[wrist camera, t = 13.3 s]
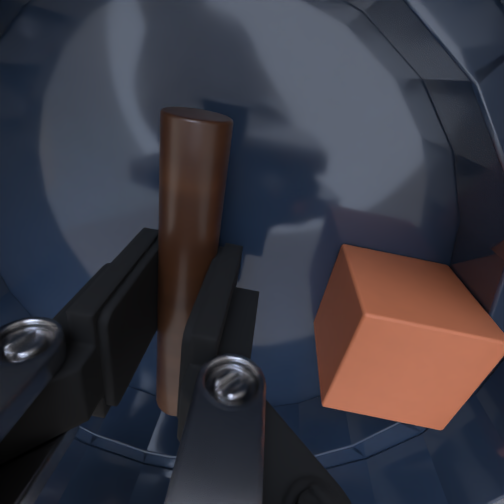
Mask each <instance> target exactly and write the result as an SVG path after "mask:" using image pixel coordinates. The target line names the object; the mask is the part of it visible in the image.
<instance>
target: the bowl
mask: <svg viewBox="0 0 504 504" xmlns="http://www.w3.org/2000/svg"><path fill="white" fill-rule="evenodd" d="M166 107H187V108H195V109H202V110H207V111H212V112H216V113H220V114H223V115H226V116H228V117H230V118H231V119H232V120H233V131H232V139H231V147H230V155H229V163H228V171H227V180H226V188H225V196H224V204H223V212H222V220H221V228H220V236H219V245H218V246H221V247H224V245H225V243H230V244H235V245H240V246H243V250H242V256H241V262H240V268H239V274H238V279H237V285H236V287H239V288H244V289H249V290H254V291H259V299H258V306H257V314H256V322H255V329H254V337H253V344H252V352H251V359H250V360H252V361H254V362H255V363H256V364H257V365H258V366H259V367H260V368H261V370H262V372H263V374H264V376H265V381H266V400H267V401H268V402H269V403H270V404H271V406H272V407H273V408H274V409H275V410H276V412H277V413H278V414H279V415H280V416H281V417H282V419H283V420H284V421H285V422H286V423H287V424H288V426H289V427H290V428H291V429H292V430H293V431H294V433H295V434H296V435H297V436H298V437H299V438H300V440H301V441H302V442H303V443H304V444H305V446H306V447H307V448H308V449H309V450H310V451H311V453H312V454H313V455H314V456H315V457H316V458H317V460H318V461H319V462H320V463H321V464H322V465H323V467H324V468H325V469H326V470H327V471H328V472H329V474H330V475H331V476H332V477H333V478H334V480H335V481H336V482H337V483H338V484H339V485H340V487H341V488H342V489H343V491H344V492H345V494H346V495H347V497H348V498H349V500H350V501H351V504H504V356H503V358H502V359H501V360H500V361H499V362H498V364H497V365H496V366H495V367H494V368H493V370H492V371H491V372H490V373H489V374H488V376H487V377H486V378H485V379H484V381H483V382H482V383H481V384H480V385H479V387H478V388H477V389H476V390H475V391H474V393H473V394H472V395H471V396H470V397H469V399H468V400H467V401H466V402H465V404H464V405H463V406H462V407H461V408H460V410H459V411H458V412H457V413H456V414H455V416H454V417H453V418H452V419H451V420H450V422H449V423H448V424H447V425H446V426H445V428H444V429H443V430H436V429H431V428H426V427H421V426H416V425H411V424H407V423H402V422H397V421H392V420H387V419H382V418H377V417H372V416H367V415H362V414H357V413H353V412H348V411H343V410H338V409H333V408H328V407H324V406H322V403H321V393H320V383H319V373H318V362H317V352H316V342H315V332H314V320H315V317H316V314H317V312H318V309H319V306H320V303H321V301H322V298H323V295H324V292H325V290H326V287H327V284H328V281H329V279H330V276H331V273H332V270H333V268H334V265H335V262H336V259H337V257H338V254H339V251H340V248H341V246H342V245H343V244H347V245H352V246H357V247H361V248H366V249H371V250H376V251H381V252H386V253H391V254H396V255H401V256H406V257H411V258H416V259H421V260H425V261H430V262H435V263H440V264H445V265H448V266H449V267H450V268H451V270H452V271H453V272H454V273H455V275H456V276H457V277H458V278H459V279H460V281H461V282H462V283H463V284H464V285H465V287H466V288H467V289H468V290H469V291H470V293H471V294H472V295H473V296H474V298H475V299H476V300H477V301H478V302H479V304H480V305H481V306H482V307H483V308H484V310H485V311H486V312H487V313H488V314H489V316H490V317H491V318H492V319H493V321H494V322H495V323H496V324H497V325H498V327H499V328H500V329H501V330H502V331H503V333H504V0H0V327H1V326H3V325H5V324H8V323H10V322H12V321H15V320H19V319H22V318H27V317H47V318H50V319H53V318H54V317H55V315H56V314H57V313H58V312H59V311H60V310H61V309H62V308H63V307H64V306H65V305H66V304H67V303H68V302H69V301H70V300H71V299H72V298H73V297H74V296H75V295H76V294H77V292H78V291H79V290H80V289H81V288H82V287H83V286H84V285H85V284H86V283H87V282H88V281H89V280H90V279H91V278H92V277H93V276H94V275H95V274H96V273H97V272H98V271H99V269H100V268H101V267H102V266H103V265H105V264H106V263H111V262H112V261H113V260H114V259H115V258H116V257H117V256H118V255H119V254H120V252H121V251H122V250H123V249H124V248H125V247H126V246H127V245H128V244H129V243H130V242H131V241H132V240H133V238H134V237H135V236H136V235H137V234H138V233H139V232H140V231H141V230H142V229H143V228H151V229H156V230H158V225H159V151H160V111H161V109H162V108H166ZM156 373H157V331H156V333H155V334H154V336H153V338H152V340H151V342H150V344H149V346H148V348H147V350H146V352H145V354H144V356H143V358H142V360H141V362H140V364H139V366H138V368H137V370H136V372H135V374H134V376H133V378H132V380H131V382H130V384H129V386H128V388H127V389H126V391H125V393H124V395H123V397H122V399H121V401H120V403H119V404H118V406H111V407H110V409H109V411H108V413H107V415H106V417H105V418H100V417H95V416H91V417H90V419H89V421H87V422H85V423H83V424H81V425H80V427H79V430H78V432H77V434H76V436H75V438H74V440H73V441H72V443H71V444H70V446H69V448H68V449H67V451H66V452H65V454H64V456H63V457H62V459H61V461H60V462H59V464H58V465H57V467H56V469H55V470H54V472H53V474H52V475H51V477H50V478H49V480H48V482H47V483H46V485H45V486H44V488H43V490H42V491H41V493H40V495H39V496H38V498H37V499H36V501H35V503H34V504H164V502H165V498H166V494H167V490H168V486H169V483H170V479H171V475H172V471H173V467H174V464H175V460H176V456H177V452H178V448H179V444H180V442H179V440H178V438H177V430H178V418H177V416H171V415H168V414H166V413H164V412H163V411H162V410H161V409H160V408H159V407H158V405H157V401H156Z"/></svg>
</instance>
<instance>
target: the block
mask: <svg viewBox="0 0 504 504" xmlns="http://www.w3.org/2000/svg"><path fill="white" fill-rule="evenodd" d="M314 332H315V342H316V352H317V362H318V373H319V383H320V393H321V403H322V406H324V407H328V408H333V409H338V410H343V411H348V412H353V413H357V414H362V415H367V416H372V417H377V418H382V419H387V420H392V421H397V422H402V423H407V424H411V425H416V426H421V427H426V428H431V429H436V430H443V429H444V428H445V426H446V425H447V424H448V423H449V422H450V420H451V419H452V418H453V417H454V416H455V414H456V413H457V412H458V411H459V410H460V408H461V407H462V406H463V405H464V404H465V402H466V401H467V400H468V399H469V397H470V396H471V395H472V394H473V393H474V391H475V390H476V389H477V388H478V387H479V385H480V384H481V383H482V382H483V381H484V379H485V378H486V377H487V376H488V374H489V373H490V372H491V371H492V370H493V368H494V367H495V366H496V365H497V364H498V362H499V361H500V360H501V359H502V358H503V356H504V333H503V331H502V330H501V329H500V328H499V327H498V325H497V324H496V323H495V322H494V321H493V319H492V318H491V317H490V316H489V314H488V313H487V312H486V311H485V310H484V308H483V307H482V306H481V305H480V304H479V302H478V301H477V300H476V299H475V298H474V296H473V295H472V294H471V293H470V291H469V290H468V289H467V288H466V287H465V285H464V284H463V283H462V282H461V281H460V279H459V278H458V277H457V276H456V275H455V273H454V272H453V271H452V270H451V268H450V267H449V266H448V265H445V264H440V263H435V262H430V261H425V260H421V259H416V258H411V257H406V256H401V255H396V254H391V253H386V252H381V251H376V250H371V249H366V248H361V247H357V246H352V245H347V244H343V245H342V246H341V248H340V251H339V254H338V257H337V259H336V262H335V265H334V268H333V270H332V273H331V276H330V279H329V281H328V284H327V287H326V290H325V292H324V295H323V298H322V301H321V303H320V306H319V309H318V312H317V314H316V317H315V320H314Z"/></svg>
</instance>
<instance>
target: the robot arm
mask: <svg viewBox="0 0 504 504" xmlns="http://www.w3.org/2000/svg"><path fill="white" fill-rule="evenodd" d="M242 250H243V246H240V245H235V244H230V243H225V245H224V247H221V246H218V253H217V255H216V257H215V258H214V259H212V262H211V264H210V267H209V269H208V271H207V274H206V276H205V279H204V281H203V284H202V286H201V289H200V291H199V294H198V296H197V298H196V301H195V303H194V306H193V308H192V311H191V313H190V316H189V318H188V321H187V323H186V326H185V329H184V333H183V338H182V345H181V360H180V374H179V389H178V403H177V418H178V430H177V438H178V440H179V442H180V444H179V448H178V452H177V456H176V460H175V464H174V467H173V471H172V475H171V479H170V483H169V486H168V490H167V494H166V498H165V502H164V504H351V501H350V500H349V498H348V497H347V495H346V494H345V492H344V491H343V489H342V488H341V487H340V485H339V484H338V483H337V482H336V481H335V480H334V478H333V477H332V476H331V475H330V474H329V472H328V471H327V470H326V469H325V468H324V467H323V465H322V464H321V463H320V462H319V461H318V460H317V458H316V457H315V456H314V455H313V454H312V453H311V451H310V450H309V449H308V448H307V447H306V446H305V444H304V443H303V442H302V441H301V440H300V438H299V437H298V436H297V435H296V434H295V433H294V431H293V430H292V429H291V428H290V427H289V426H288V424H287V423H286V422H285V421H284V420H283V419H282V417H281V416H280V415H279V414H278V413H277V412H276V410H275V409H274V408H273V407H272V406H271V404H270V403H269V402H268V401H267V400H266V381H265V376H264V374H263V372H262V370H261V368H260V367H259V366H258V365H257V364H256V363H255V362H254V361H252V360H250V359H251V352H252V344H253V337H254V329H255V322H256V314H257V306H258V299H259V291H254V290H249V289H244V288H239V287H236V285H237V279H238V274H239V268H240V262H241V256H242ZM157 303H158V230H156V229H151V228H143V229H142V230H141V231H140V232H139V233H138V234H137V235H136V236H135V237H134V238H133V240H132V241H131V242H130V243H129V244H128V245H127V246H126V247H125V248H124V249H123V250H122V251H121V252H120V254H119V255H118V256H117V257H116V258H115V259H114V260H113V261H112V262H111V263H106V264H105V265H103V266H102V267H101V268H100V269H99V271H98V272H97V273H96V274H95V275H94V276H93V277H92V278H91V279H90V280H89V281H88V282H87V283H86V284H85V285H84V286H83V287H82V288H81V289H80V290H79V291H78V292H77V294H76V295H75V296H74V297H73V298H72V299H71V300H70V301H69V302H68V303H67V304H66V305H65V306H64V307H63V308H62V309H61V310H60V311H59V312H58V313H57V314H56V315H55V317H54V318H53V319H50V318H47V317H27V318H22V319H19V320H15V321H12V322H10V323H8V324H5V325H3V326H1V327H0V504H34V503H35V501H36V499H37V498H38V496H39V495H40V493H41V491H42V490H43V488H44V486H45V485H46V483H47V482H48V480H49V478H50V477H51V475H52V474H53V472H54V470H55V469H56V467H57V465H58V464H59V462H60V461H61V459H62V457H63V456H64V454H65V452H66V451H67V449H68V448H69V446H70V444H71V443H72V441H73V440H74V438H75V436H76V434H77V432H78V430H79V427H80V425H81V424H83V423H85V422H87V421H89V419H90V417H91V416H95V417H100V418H105V417H106V415H107V413H108V411H109V409H110V407H111V406H118V404H119V403H120V401H121V399H122V397H123V395H124V393H125V391H126V389H127V388H128V386H129V384H130V382H131V380H132V378H133V376H134V374H135V372H136V370H137V368H138V366H139V364H140V362H141V360H142V358H143V356H144V354H145V352H146V350H147V348H148V346H149V344H150V342H151V340H152V338H153V336H154V334H155V333H156V331H157Z"/></svg>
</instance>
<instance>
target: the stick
mask: <svg viewBox="0 0 504 504" xmlns="http://www.w3.org/2000/svg"><path fill="white" fill-rule="evenodd" d="M232 131H233V120H232V119H231V118H230V117H228V116H226V115H223V114H220V113H216V112H212V111H207V110H202V109H195V108H187V107H166V108H162V109H161V111H160V151H159V225H158V303H157V373H156V401H157V405H158V407H159V408H160V409H161V410H162V411H163V412H164V413H166V414H168V415H171V416H177V403H178V389H179V374H180V360H181V345H182V338H183V333H184V329H185V326H186V323H187V321H188V318H189V316H190V313H191V311H192V308H193V306H194V303H195V301H196V298H197V296H198V294H199V291H200V289H201V286H202V284H203V281H204V279H205V276H206V274H207V271H208V269H209V267H210V264H211V262H212V259H214V258H215V257H216V255H217V253H218V245H219V236H220V228H221V220H222V212H223V204H224V196H225V188H226V180H227V171H228V163H229V155H230V147H231V139H232Z"/></svg>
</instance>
